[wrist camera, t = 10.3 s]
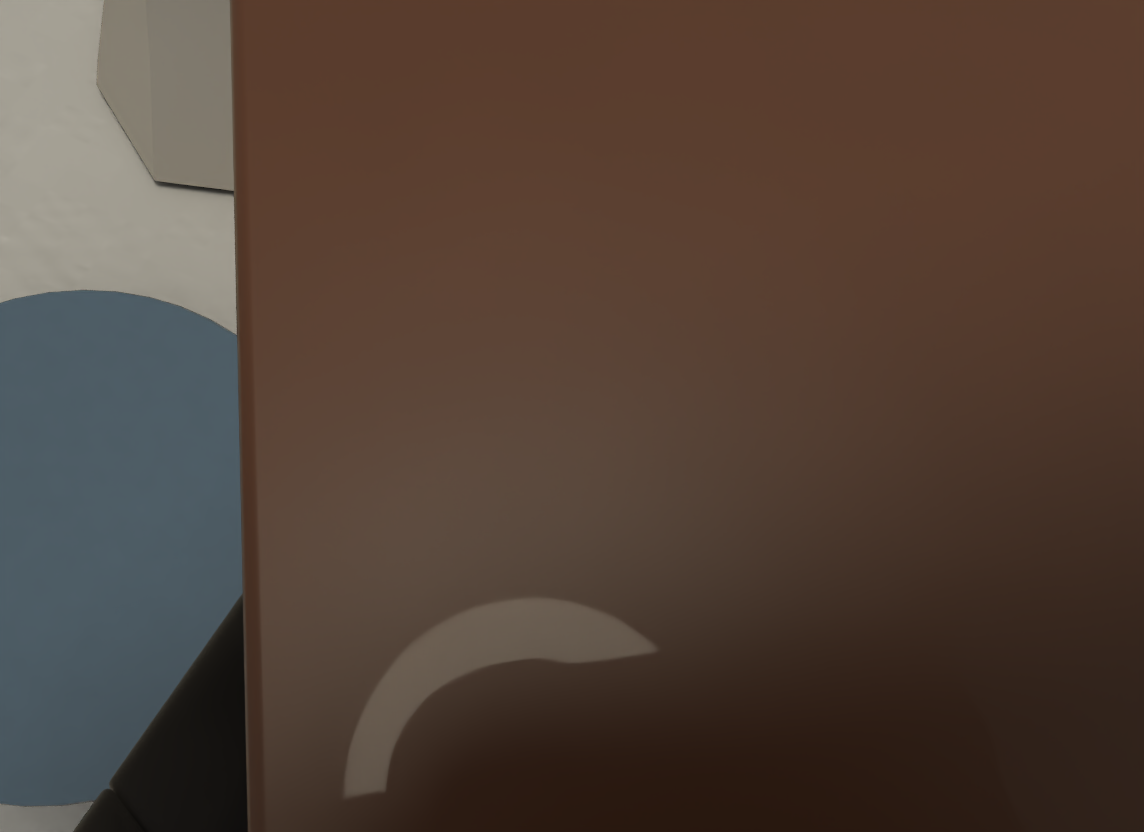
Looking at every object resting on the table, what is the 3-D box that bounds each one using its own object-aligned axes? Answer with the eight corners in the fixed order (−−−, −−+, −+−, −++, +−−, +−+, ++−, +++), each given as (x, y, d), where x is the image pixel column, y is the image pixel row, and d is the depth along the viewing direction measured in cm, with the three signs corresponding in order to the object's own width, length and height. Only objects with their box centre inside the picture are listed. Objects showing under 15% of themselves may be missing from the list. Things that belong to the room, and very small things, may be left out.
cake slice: (713, 870, 15) (1894, 1629, 3) (418, 914, 15) (242, 2159, 2) (660, 483, 17) (1261, -130, 4) (394, 507, 16) (208, -135, 4)
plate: (373, 737, 22) (371, 740, 21) (-180, 857, 20) (-204, 866, 19) (302, 271, 24) (298, 259, 23) (-205, 336, 22) (-228, 325, 21)
